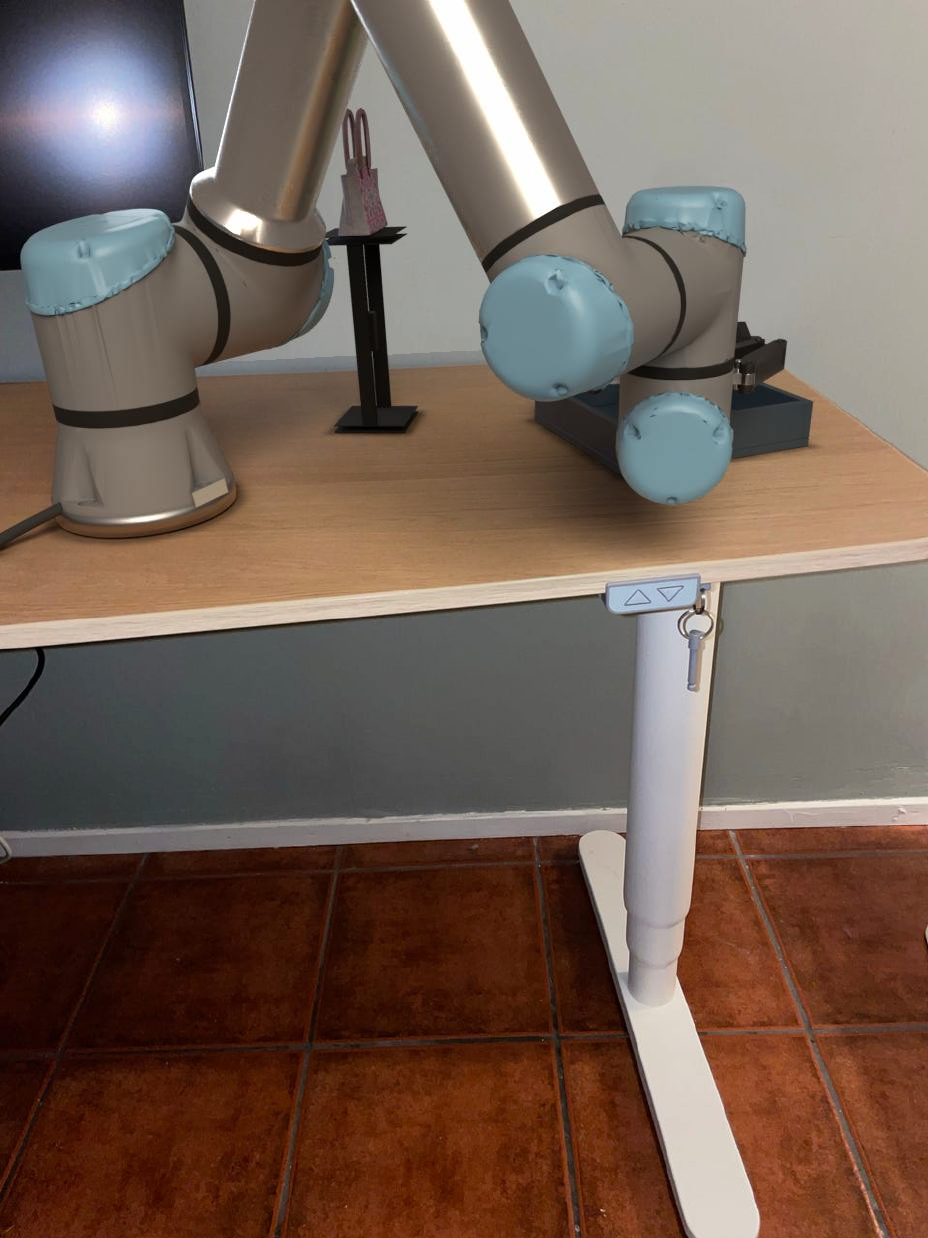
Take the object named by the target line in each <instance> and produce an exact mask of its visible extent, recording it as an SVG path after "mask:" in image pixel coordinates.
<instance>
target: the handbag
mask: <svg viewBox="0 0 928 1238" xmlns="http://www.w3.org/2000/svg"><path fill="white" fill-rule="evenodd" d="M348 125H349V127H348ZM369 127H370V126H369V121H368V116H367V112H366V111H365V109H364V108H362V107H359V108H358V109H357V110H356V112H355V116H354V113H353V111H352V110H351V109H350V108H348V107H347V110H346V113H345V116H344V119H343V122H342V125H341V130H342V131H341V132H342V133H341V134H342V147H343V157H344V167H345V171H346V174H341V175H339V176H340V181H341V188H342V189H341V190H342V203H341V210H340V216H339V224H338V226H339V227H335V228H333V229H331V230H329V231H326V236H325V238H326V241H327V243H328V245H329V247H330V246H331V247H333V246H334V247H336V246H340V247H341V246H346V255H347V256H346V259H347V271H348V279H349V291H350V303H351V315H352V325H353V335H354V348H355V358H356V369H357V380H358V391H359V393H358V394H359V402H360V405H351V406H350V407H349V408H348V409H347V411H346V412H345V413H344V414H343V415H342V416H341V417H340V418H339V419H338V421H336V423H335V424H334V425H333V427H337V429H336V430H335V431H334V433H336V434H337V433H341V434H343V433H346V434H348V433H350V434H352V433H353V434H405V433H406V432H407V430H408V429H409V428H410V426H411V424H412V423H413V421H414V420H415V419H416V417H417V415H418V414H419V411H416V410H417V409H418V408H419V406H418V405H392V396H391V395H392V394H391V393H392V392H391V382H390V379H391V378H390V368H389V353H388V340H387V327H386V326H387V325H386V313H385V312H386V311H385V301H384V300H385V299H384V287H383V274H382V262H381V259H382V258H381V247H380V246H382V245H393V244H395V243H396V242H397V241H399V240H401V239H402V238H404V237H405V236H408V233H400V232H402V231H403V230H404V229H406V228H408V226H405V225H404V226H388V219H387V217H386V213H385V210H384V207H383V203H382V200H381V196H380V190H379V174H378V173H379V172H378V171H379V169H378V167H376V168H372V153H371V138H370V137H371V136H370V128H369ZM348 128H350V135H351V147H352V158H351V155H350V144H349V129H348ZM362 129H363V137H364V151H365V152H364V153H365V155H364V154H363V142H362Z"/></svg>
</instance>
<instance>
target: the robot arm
mask: <svg viewBox="0 0 928 1238" xmlns="http://www.w3.org/2000/svg"><path fill="white" fill-rule="evenodd" d="M369 42H370V44H371V45H372V47H373V50H374V51H375V54H376V55H377V58H378V59H379V63H380V64H381V66H382V68H383V70H384V71H385V74H386V76H387V78H388V79H389V82H390V84H391V86H392V88H393V90H394V92H395V95H396V96H397V99H398V100H399V102H400V104H401V106H402V108H403V110H404V112H405V115H406V116H407V118H408V120H409V122H410V124H411V126H412V129H413V130H414V133H415V134H416V136H417V138H418V140H419V143H420V144H421V146H422V148H423V150H424V152H425V154H426V156H427V158H428V160H429V162H430V164H431V166H432V169H433V170H434V172H435V174H436V177H437V178H438V181H439V183H440V184H441V186H442V188H443V190H444V192H445V194H446V197H447V199H448V200H449V203H450V205H451V206H452V209H453V211H454V213H455V214H456V217H457V218H458V221H459V222H460V224H461V227H462V228H463V230H464V231H463V232H464V233H465V235H466V237H467V239H468V241H469V242H470V245H471V246H472V249H473V251H474V253H475V255H476V257H477V259H478V261H479V263H480V265H481V267H482V269H483V271H484V273H485V275H486V277H487V279H488V282H489V286H488V287H487V289H486V291H485V292H484V295H483V298H482V301H481V304H480V308H479V312H478V324H479V331H480V347H481V352H482V354H483V357H484V359H485V361H486V364H487V365H488V367H489V369H490V370H491V372H492V373H493V375H494V376H495V377H496V378H497V379H498V381H500V382H501V383H502V384H503V385H504V386H505V387H506V388H507V389H509V390H510V391H511V392H513V393H515V394H517V395H518V396H520V397H521V398H525V399H527V400H529V401H530V400H531V401H534V402H535V401H542V402H550V401H558V400H562V399H565V398H568V397H571V396H574V395H576V394H579V393H584V392H587V393H589V394H592V395H595V394H598V393H601V389H606V386H607V385H609V384H618V386H619V387H620V394H619V423H618V428H617V431H616V446H615V448H616V457H617V458H618V463H619V467H620V470H621V473H622V475H623V476H622V477H623V478H624V480H625V482H626V483H627V484H628V486H629V487H630V488H631V489H632V490H633V491H634V492H636V493H637V494H638V495H639V496H641V497H642V498H644V499H646V500H648V501H651V502H652V503H653V502H654V503H657V504H660V505H668V506H674V505H683V504H688V503H692V502H695V501H697V500H699V499H701V498H703V497H705V496H706V495H709V493H710V492H712V491H713V490H714V489H715V488H717V486H718V485H719V484H720V483H721V482H722V481H723V480H724V477H725V476H726V474H727V472H728V470H729V467H730V464H731V460H732V459H731V455H732V442H733V438H734V435H733V429H732V428H731V427H730V411H731V399H732V388H733V389H735V390H738V389H739V391H738V392H739V393H740V394H743V395H749V394H752V393H754V387H755V386H757V385H759V384H760V383H762V382H763V383H765V381H767V380H769V379H771V378H772V377H773V376H775V375H777V374H778V373H780V372H782V371H783V370H785V366H786V356H787V347H788V340H786V339H784V338H777V339H774V340H771V341H769V342H768V343H766V338H763V337H762V336H759V335H751V332H750V330H749V327H748V324H747V322H746V321H739V312H740V302H741V301H740V299H741V292H742V291H741V289H742V279H743V270H744V259H745V257H747V250H748V248H747V245H746V214H747V213H746V209H747V208H746V202H745V198H744V196H743V195H742V194H741V193H740V192H739V191H737V190H736V189H734V188H731V187H725V186H715V185H710V186H709V185H679V186H678V185H677V186H662V187H651V188H645V189H640V190H638V191H636V192H634V193H633V194H632V195H631V196H630V198H629V200H628V201H627V204H626V206H625V214H624V223H623V227H622V229H621V232H620V230H619V228H618V227H617V223H615V220H614V219H613V216H612V214H611V212H610V211H609V209H608V206H607V204H606V203H605V200H604V198H603V196H602V195H601V193H600V191H599V189H598V186H597V185H596V182H595V181H594V178H593V176H592V175H591V172H590V170H589V168H588V166H587V164H586V161H585V159H584V157H583V155H582V153H581V151H580V149H579V147H578V145H577V143H576V140H575V138H574V136H573V134H572V132H571V129H570V128H569V126H568V123H567V121H566V118H565V117H564V115H563V113H562V111H561V108H560V106H559V104H558V102H557V100H556V98H555V96H554V94H553V91H552V89H551V87H550V85H549V83H548V81H547V79H546V77H545V74H544V72H543V70H542V68H541V66H540V64H539V61H538V60H537V58H536V55H535V53H534V51H533V49H532V47H531V45H530V42H529V40H528V38H527V36H526V34H525V32H524V30H523V27H522V25H521V23H520V22H519V19H518V17H517V15H516V13H515V11H514V9H513V6H512V4H511V2H510V0H253V4H252V9H251V13H250V17H249V21H248V25H247V29H246V34H245V39H244V42H243V47H242V51H241V54H240V59H239V64H238V68H237V72H236V76H235V80H234V84H233V89H232V93H231V97H230V102H229V105H228V109H227V114H226V118H225V123H224V127H223V132H222V136H221V139H220V143H219V148H218V152H217V156H216V161H215V165H214V166H212V167H210V168H208V169H206V170H203V171H201V172H199V173H197V174H196V175H195V176H194V177H193V178H192V180H191V183H190V187H189V190H188V195H187V198H186V205H185V209H184V212H183V217H182V218H181V219H180V221H179V222H172V223H171V220H170V217H169V216H168V215H167V214H166V213H165V212H163V211H162V210H160V209H159V210H158V209H156V208H155V209H153V208H132V209H130V208H129V209H120V210H113V211H108V212H105V213H102V214H95V213H94V214H89V215H85V216H81V217H77V218H76V217H75V218H72V219H70V220H65V221H62V222H59V223H56V224H53V225H51V226H48V227H45V228H42V229H41V230H39V231H37V232H36V233H34V234H32V235H31V236H30V237H28V239H27V240H26V242H25V243H24V244H23V245H22V248H21V251H20V260H19V261H20V267H21V268H20V269H21V275H22V281H23V282H22V283H23V288H24V302H25V305H26V307H27V309H28V310H29V313H30V316H31V320H32V325H33V329H34V333H35V338H36V342H37V345H38V349H39V354H40V358H41V362H42V367H43V371H44V375H45V379H46V384H47V387H48V392H49V396H50V401H51V405H52V408H53V409H52V410H53V414H54V417H55V422H56V427H57V428H56V429H57V436H56V446H55V456H54V466H53V475H52V484H51V491H50V493H51V495H50V502H51V506H49V507H47V508H45V509H43V510H41V511H38V512H37V513H35V514H33V515H31V516H29V517H27V518H26V519H24V520H22V521H20V522H17V523H16V524H14V525H12V526H11V527H8V528H6V529H5V530H3V531H1V532H0V548H1V547H3V546H5V545H7V544H8V543H10V542H12V541H13V540H15V539H18V538H19V537H21V536H23V535H25V534H26V533H28V532H30V531H32V530H34V529H36V528H38V527H40V526H42V525H43V524H45V523H48V522H49V521H52V520H54V519H55V521H56V523H57V525H58V526H59V527H60V528H62V529H64V530H65V531H68V532H70V533H73V534H75V535H79V536H80V535H82V536H86V537H93V538H107V539H108V538H111V539H116V538H117V539H120V538H136V537H145V536H152V535H158V534H159V535H160V534H164V533H168V532H173V531H177V530H181V529H184V528H187V527H191V526H194V525H197V524H200V523H203V522H205V521H207V520H210V519H212V518H214V517H216V516H217V515H219V514H221V513H223V512H224V511H226V510H227V509H228V508H229V507H230V506H232V504H233V503H234V502H235V500H236V498H237V487H236V481H235V475H234V472H233V469H232V467H231V466H230V463H229V461H228V460H227V458H226V456H225V453H224V452H223V449H222V447H221V446H220V444H219V442H218V440H217V439H216V436H215V434H214V432H213V430H212V429H211V427H210V424H209V422H208V421H207V418H206V416H205V414H204V412H203V409H202V405H201V400H200V393H199V386H198V381H197V380H198V379H197V374H196V368H201V367H205V366H207V365H211V364H215V363H218V362H219V363H220V362H223V361H227V360H231V359H234V358H238V357H242V356H246V355H250V354H253V353H257V352H261V351H267V350H272V349H274V348H279V347H282V346H284V345H286V344H287V345H288V343H290V342H291V341H294V340H296V339H298V338H300V337H302V336H305V335H306V334H307V333H309V332H310V331H311V330H313V329H314V328H315V327H316V326H317V325H318V324H319V323H320V321H321V320H322V319H323V317H324V316H325V314H326V312H327V310H328V308H329V305H330V303H331V300H332V296H333V291H334V284H335V269H334V268H333V267H331V266H330V262H329V260H330V259H332V257H333V256H332V251H331V248H330V246H329V245H328V243H327V241H326V240H327V238H325V236H326V232H327V226H326V222H325V219H324V218H323V216H322V214H321V213H320V211H319V209H318V207H317V203H318V201H319V197H320V194H321V191H322V187H323V186H324V181H325V178H326V176H327V172H328V169H329V166H330V162H331V161H332V160H331V159H332V156H333V153H334V151H335V148H336V144H337V141H338V139H339V138H338V137H339V134H340V132H341V130H342V122H343V119H344V116H345V113H346V110H347V108H348V106H349V103H350V100H351V97H352V94H353V91H354V87H355V85H356V82H357V78H358V75H359V73H360V69H361V66H362V63H363V59H364V57H365V53H366V51H367V48H368V45H369Z"/></svg>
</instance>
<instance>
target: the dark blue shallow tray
mask: <svg viewBox="0 0 928 1238" xmlns="http://www.w3.org/2000/svg"><path fill="white" fill-rule="evenodd" d="M738 391H739V389H738V390H735V389H733V388H732V399H731V411H730V427H731V428H732V429H733V435H734V438H733V442H732V455H731V460H732V459H738V458H744V457H745V458H746V457H750V456H755V455H763V454H768V453H773V452H779V451H780V452H781V451H785V450H792V449H797V448H804V447H808V446H809V442H810V433H811V425H812V415H813V407H814V401H813V400H811V399H808V398H806V397H803V396H800V395H797V394H795V393H793V392H790V391H788V390H786V389H785V390H784V389H782V388H779V387H777V386H774V385H771V384H769V383H767V382H766V383H765V382H762V383H760V384H759V385H757V386H755V387H754V393H752V394H749V395H743V394H740V393H739V392H738ZM619 394H620V387H619V386H618V384H609V385H607V386H606V389H601V393H598V394H595V395H592V394H589V393H587V392H584V393H579V394H576V395H574V396H571V397H568V398H565V399H562V400H558V401H550V402H542V401H535V400H534V421H535V422H536V423H538V424H539V425H541V426H542V427H544V428H546V429H547V430H549V431H550V432H552V433H553V434H555V435H557V436H558V437H560V438H562V439H563V440H565V441H566V442H568V443H569V444H571V445H573V446H574V447H575V448H577V449H578V450H580V451H582V452H583V453H585V454H586V455H588V456H590V457H591V458H593V459H595V460H596V461H598V463H601V464H602V465H604V466H605V467H607V468H609V469H610V470H612V471H613V472H615V473H616V474H618V475H620V476H621V477H623V475H622V473H621V470H620V467H619V463H618V458H617V457H616V448H615V446H616V431H617V428H618V423H619Z"/></svg>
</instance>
